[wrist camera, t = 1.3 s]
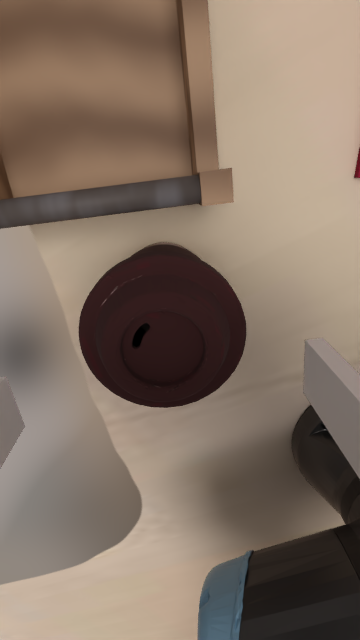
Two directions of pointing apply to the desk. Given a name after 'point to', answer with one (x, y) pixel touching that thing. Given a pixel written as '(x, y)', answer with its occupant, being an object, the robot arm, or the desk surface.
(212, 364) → the coffee cup
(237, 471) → the desk surface
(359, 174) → the red board with handle
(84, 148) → the wooden crate
